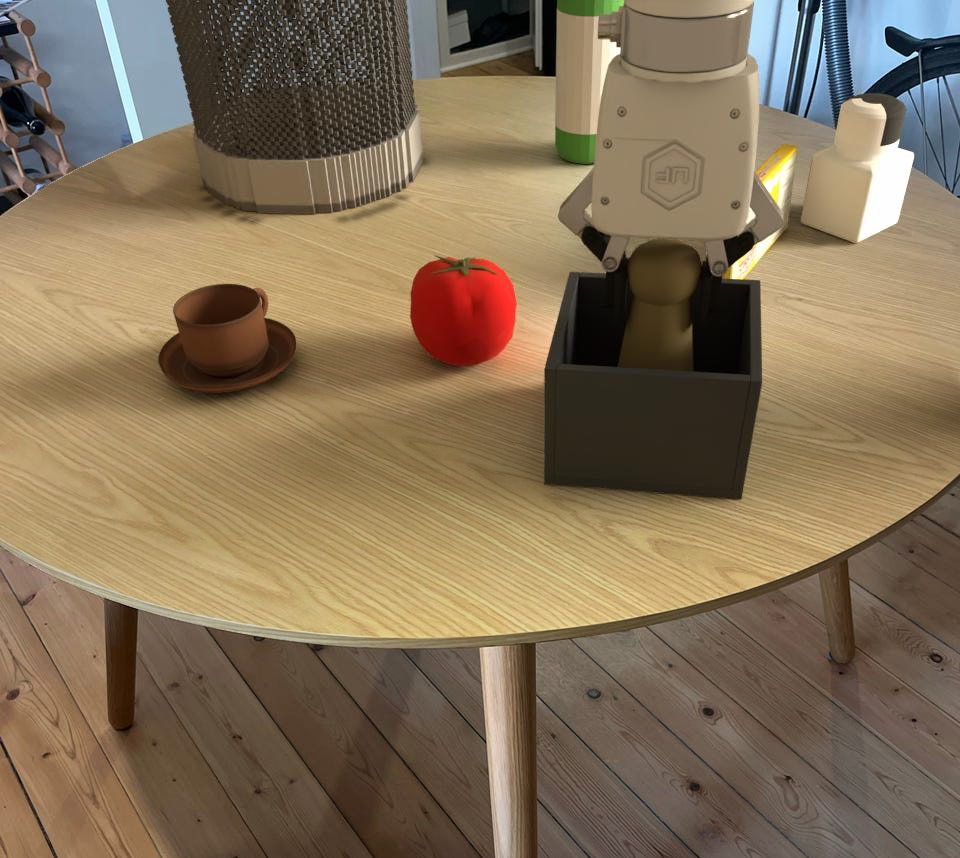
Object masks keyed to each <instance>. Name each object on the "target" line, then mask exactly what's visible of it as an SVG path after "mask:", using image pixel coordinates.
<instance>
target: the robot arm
mask: <svg viewBox="0 0 960 858" xmlns="http://www.w3.org/2000/svg"><path fill="white" fill-rule="evenodd" d="M754 7H755V0H624V4H623V6H619V9H618V12H612V13H611V14H599V19H598V39H610V42H616V48H620V54H618V55H616V56H615V57H614V58H613V59H612V60H611V62H610V63H609V65H608V68H607V72H606V76H605V80H604V85H603V90H602V96H601V102H600V109H599V116H598V125H597V135H596V145H595V157H594V164H593V167H592V169H591V170H590V171H589V172H588V173H587V174H586V176H585V177H584V178H583V179H582V180H581V182H580V183H579V184H578V185H577V186H576V187H575V188H574V189H573V191H571V193H570V194H569V195H568V196H567V197H566V198H565V200H564V201H562V203H561V205H560V207H559V209H558V210H559V211H558V212H557V219H558V221H559V222H560V223H561V224H562V225H564V226H565V227H566V228H567V229H568V230H569V231H570V232H571V233H572V234H573V235H575V236H576V237H578V238H579V239H580V240H581V242H582V244H583V245H584V246H585V247H586V248H587V249H588V250H589V251H590V252H591V253H592V255H594V256H595V258H596V259H597V260H598V261H599V262H600V264H601V267H602V269H603V270H604V271H605V273H606V282H605V303H604V308H613V325H615V326H620V324H623V319H624V313H625V307H626V293H627V263H628V260H629V257H627V251H626V250H627V246H628V244H629V241H630V239H650V240H653V239H674V240H681V241H703V243H704V247H705V251H706V254H705V260H701V264H702V274H701V280H700V287H699V295H698V304H697V315H696V328H698V330H706V323H707V315H708V313H718V306H719V298H720V291H721V283H722V276H723V275H725V274H726V273H727V271H728V268H729V267H730V266H732V265H733V264H734V263H735V262H737V261H738V260H739V259H740V258H742V257H743V256H744V255H745V254H747V253H748V252H749V251H750V250H751V249H752V248H753V247H754V245H756V244H757V243H759V242H762V241H763V240H765V239H766V238H767V237H769V236H770V235H772V234H773V233H775V232H776V231H778V230H779V229H780V228H781V227H782V226H783V213H782V211H781V209H780V208H779V206H778V205H777V203H776V202H775V200H774V199H773V197H772V196H771V194H770V193H769V192H768V190H767V189H766V187H765V186H764V184H763V183H762V181H761V180H760V178H759V177H758V175H757V174H756V169H755V168H756V167H755V166H756V157H757V147H758V135H759V126H760V125H759V123H760V87H761V86H760V71H759V65H758V63H757V62H758V61H757V60H756V58H755V57H753V56H752V55H751V54H749V53H748V52H749V45H750V38H751V30H752V29H751V28H752V22H753V15H754ZM590 205H591V215H590V214H589V213H588V212H587V211H586V209H587V208H588V207H589V206H590ZM749 208H751V209H752V211H753V212H754V213H755V215H756V217H755V218H754V219H752V220H751V221H750V222H749V223H748V224H746V222H747V218H748V213H749Z"/></svg>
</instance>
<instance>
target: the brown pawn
mask: <svg viewBox="0 0 960 858" xmlns="http://www.w3.org/2000/svg"><path fill="white" fill-rule="evenodd" d="M628 258H629V260H628V263H627V282H628V287H629V288H630V290H631V291H632V293H633V294H632V299H631V304H630V309H629V314H628V319H627V324H626V328H625V333H624V338H623V343H622V348H621V353H620V358H619V362H618V367H622V368H639V369H656V370H673V371H690V372H693V342H692V305H691V295H692V294H693V293H694V292H695V291H696V289H697V287H698V285H699V282H700V280H701V274H702V258H701V255H700V254H699V251H698V250H697V249H696V248H695V247H694V246H693V245H692V244H689V243H687V242H686V241H685V240H674V239H650V240H647V241H645V242H642V243H640V244H638V245H637V246H636V247H635V248H634V249H633V251H632V253H631V254H630V256H629V257H628Z"/></svg>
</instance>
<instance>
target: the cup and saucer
mask: <svg viewBox="0 0 960 858" xmlns="http://www.w3.org/2000/svg"><path fill="white" fill-rule="evenodd" d="M268 310H269V297H268V295H267V293H266V291H265V290H264V289H263V288H262V287H254V288H252V287H250V286H247V285H243V284H238V283H216V284H210V285H205V286H202V287H198V288H196V289H193V290H191V291H189V292H187V293H185V294H184V295H182V296H181V297H180V298H178V300H176V302H175V303H174V305H173V307H172V313H173V316H174V319H175V323H176V327H177V330H178V332H177V333H176V334H174V335H173V336H172V337H170V338H169V339H168V340H166V342H165V343H163V345H162V347H161V348H160V350H159V353H158V356H157V362H158V366H159V369H160V370H161V372H162V373H163V375H164V376H165V378H167V380H169V381H171V382H172V383H173V384H175V385H178V386H180V387H182V388H185V389H188V390H190V391H195V392H201V393H210V394H212V393H215V394H217V393H219V394H221V393H222V394H223V393H233V392H238V391H242V390H246V389H250V388H254V387H256V386H259V385H262V384H264V383H265V382H268V381H269V380H270V381H271V379H273V378H275V377H276V376H277V375H279V374H280V373H281V372H282V371H284V370H285V369H286V368H287V366H288V365H289V364H290V363H291V362H292V360H293V359H294V358H295V355H296V353H297V352H296V351H297V338H296V335H295V333H294V332H293V330H292V329H291V328H289V327H288V326H287V325H285V324H284V323H282V322H281V321H278V320H276V319H272V318H268V317H266V315H267V313H268Z"/></svg>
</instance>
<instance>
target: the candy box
mask: <svg viewBox="0 0 960 858" xmlns="http://www.w3.org/2000/svg"><path fill="white" fill-rule="evenodd" d="M797 155H798V145H794V144H793V145H792V144H783V143H782V144H780V146H779V147H778V148H777V149H776V150H775V151H774V152H773V153H772V154H771V155H770V156H769V157H768V158H767V159H766V160H765V162H763V164H761V165H760V166H759V167H758V168H757V170H755V172H756V174H757V175H758V177H759V178H760V180H761V181H762V183H763V184H764V186H765V187H766V189H767V190H768V192H769V193H770V194H771V196H772V197H773V199H774V200H775V202H776V203H777V205H778V206H779V208H780V209H781V211H782V213H783V226H782V227H781V228H780V229H779V230H778V231H776V232H775V233H773V234H772V235H770V236H769V237H767V238H766V239H765V240H763V241H762V242H759V243H757V244H756V245H754V247H753V248H752V249H751V250H750V251H749V252H748V253H747V254H745V255H744V256H743V257H742V258H740V259H739V260H738V261H737V262H735V263H734V264H733V265H732V266H730V267H729V268H728V271H727V273H726V274H725V275H723V276H722V278H724V279H745V278H746V276H747V275H748V274H749V273H750V271H751V270H752V269H753V268H754V267H755V266H756V264H757V263H758V262H759V261H760V260H761V259H762V258H763V257H764V255H765V254H767V252H768V251H769V249H770V248H771V247H772V246H773V245H774V244H775V242H777V240H778V238H780V236H782V234H783V233H785V231H786V230H787V229H788V225H789V224H788V223H789V217H790V216H789V215H790V208H791V202H792V195H793V187H794V186H793V185H794V178H795V170H796V164H797ZM755 217H756V215H755V213H754V212H753V211H752V209H751V208H749V213H748V218H747V222H746V224H748V223H749V222H750V221H751V220H752V219H754V218H755Z"/></svg>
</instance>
